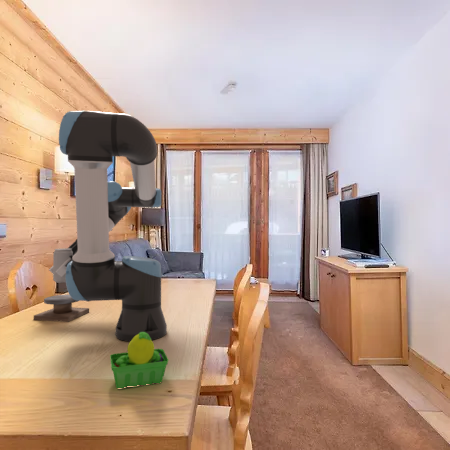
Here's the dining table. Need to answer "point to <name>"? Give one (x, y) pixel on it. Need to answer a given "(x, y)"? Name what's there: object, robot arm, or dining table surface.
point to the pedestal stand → (61, 309)
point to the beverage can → (60, 263)
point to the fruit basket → (139, 363)
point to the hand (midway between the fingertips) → (55, 273)
